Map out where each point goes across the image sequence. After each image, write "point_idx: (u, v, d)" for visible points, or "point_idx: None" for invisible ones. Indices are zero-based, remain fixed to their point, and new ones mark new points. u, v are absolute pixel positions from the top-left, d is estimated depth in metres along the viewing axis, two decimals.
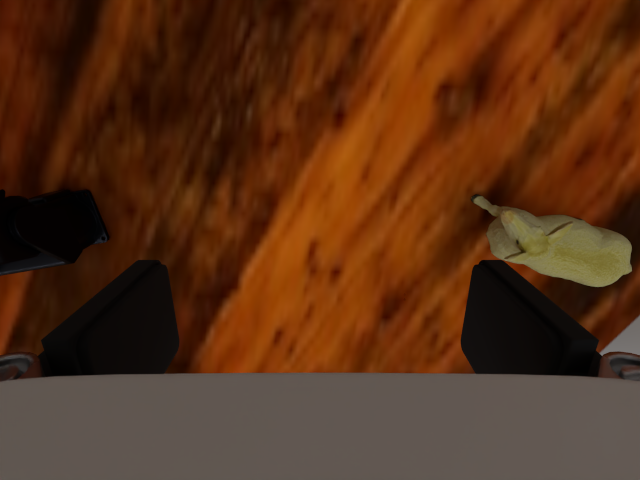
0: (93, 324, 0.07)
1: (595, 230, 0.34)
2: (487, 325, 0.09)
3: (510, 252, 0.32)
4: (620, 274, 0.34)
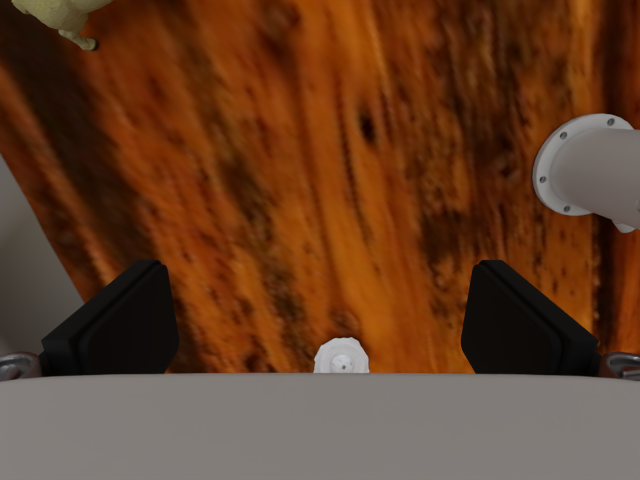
0: (93, 324, 0.07)
1: (81, 2, 0.31)
2: (487, 325, 0.09)
3: None
4: None
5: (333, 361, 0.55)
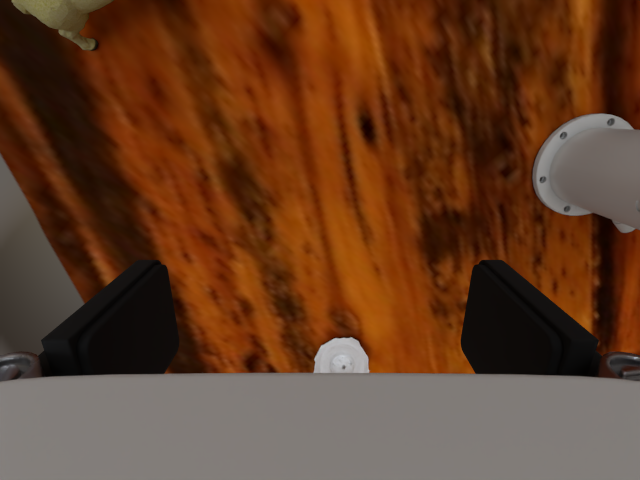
0: (93, 324, 0.07)
1: (81, 2, 0.31)
2: (487, 325, 0.09)
3: None
4: None
5: (333, 361, 0.55)
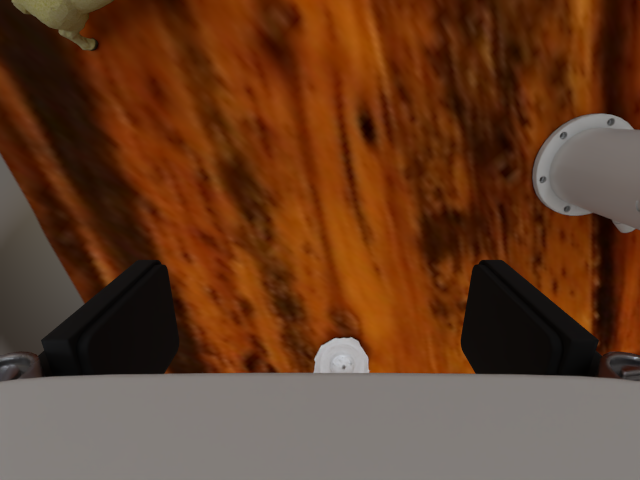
0: (93, 324, 0.07)
1: (81, 2, 0.31)
2: (487, 325, 0.09)
3: None
4: None
5: (333, 361, 0.55)
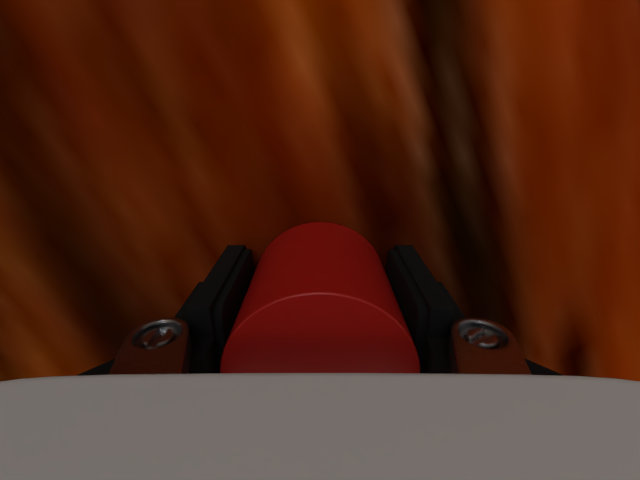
0: (220, 296, 0.08)
1: None
2: None
3: None
4: None
5: None
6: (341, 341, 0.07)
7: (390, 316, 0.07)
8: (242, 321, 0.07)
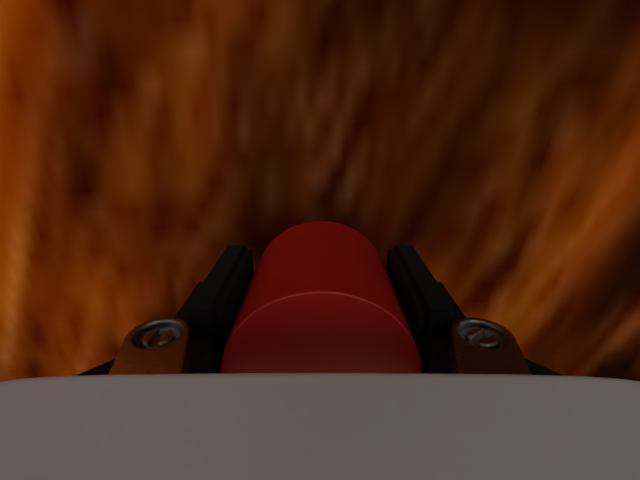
0: (220, 296, 0.08)
1: None
2: None
3: None
4: None
5: None
6: (342, 340, 0.07)
7: (391, 315, 0.07)
8: (243, 320, 0.07)
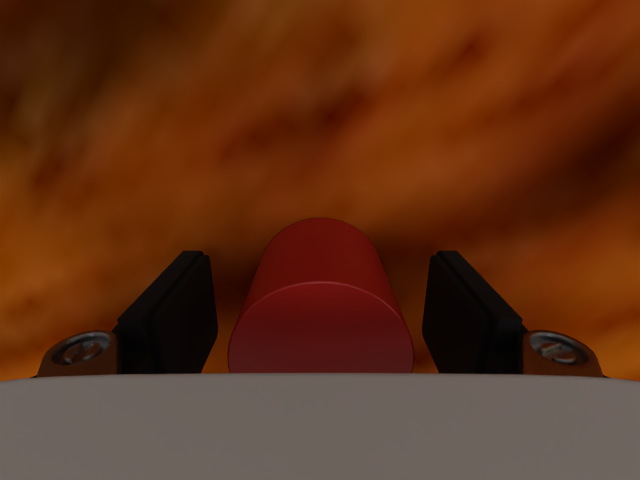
0: (159, 306, 0.08)
1: None
2: (440, 311, 0.10)
3: None
4: None
5: None
6: (340, 326, 0.08)
7: (386, 304, 0.08)
8: (248, 308, 0.08)
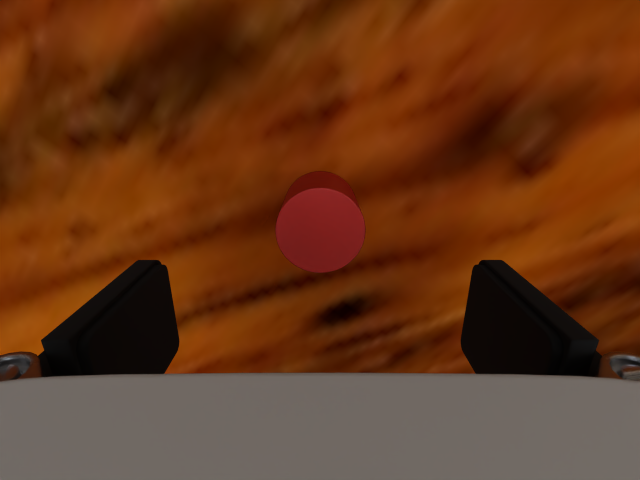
0: (93, 324, 0.07)
1: None
2: (487, 325, 0.09)
3: None
4: None
5: None
6: (329, 211, 0.17)
7: (350, 199, 0.17)
8: (286, 202, 0.17)
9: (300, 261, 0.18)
